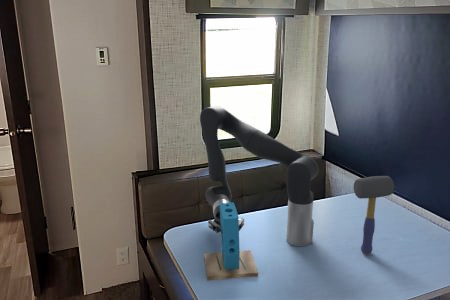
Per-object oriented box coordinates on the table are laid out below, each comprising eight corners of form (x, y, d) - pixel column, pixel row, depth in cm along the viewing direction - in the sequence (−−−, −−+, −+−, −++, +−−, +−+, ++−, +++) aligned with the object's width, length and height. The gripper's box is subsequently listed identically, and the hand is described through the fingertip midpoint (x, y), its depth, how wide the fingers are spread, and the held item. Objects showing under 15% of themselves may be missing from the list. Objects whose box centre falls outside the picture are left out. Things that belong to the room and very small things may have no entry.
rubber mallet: (375, 245, 164) (384, 171, 155) (387, 256, 157) (397, 179, 148) (345, 250, 162) (352, 174, 152) (356, 261, 155) (364, 182, 145)
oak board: (250, 253, 159) (250, 250, 159) (258, 276, 146) (258, 272, 146) (204, 257, 157) (204, 253, 157) (207, 280, 144) (207, 276, 144)
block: (240, 271, 146) (238, 218, 140) (225, 272, 145) (223, 219, 139) (235, 252, 157) (233, 202, 151) (221, 253, 157) (219, 203, 150)
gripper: (204, 204, 162) (209, 226, 145) (241, 202, 163) (249, 224, 147) (205, 222, 164) (209, 246, 148) (241, 220, 166) (249, 243, 149)
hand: (229, 235), depth 147 cm, fingers closed on block, 2 cm apart
